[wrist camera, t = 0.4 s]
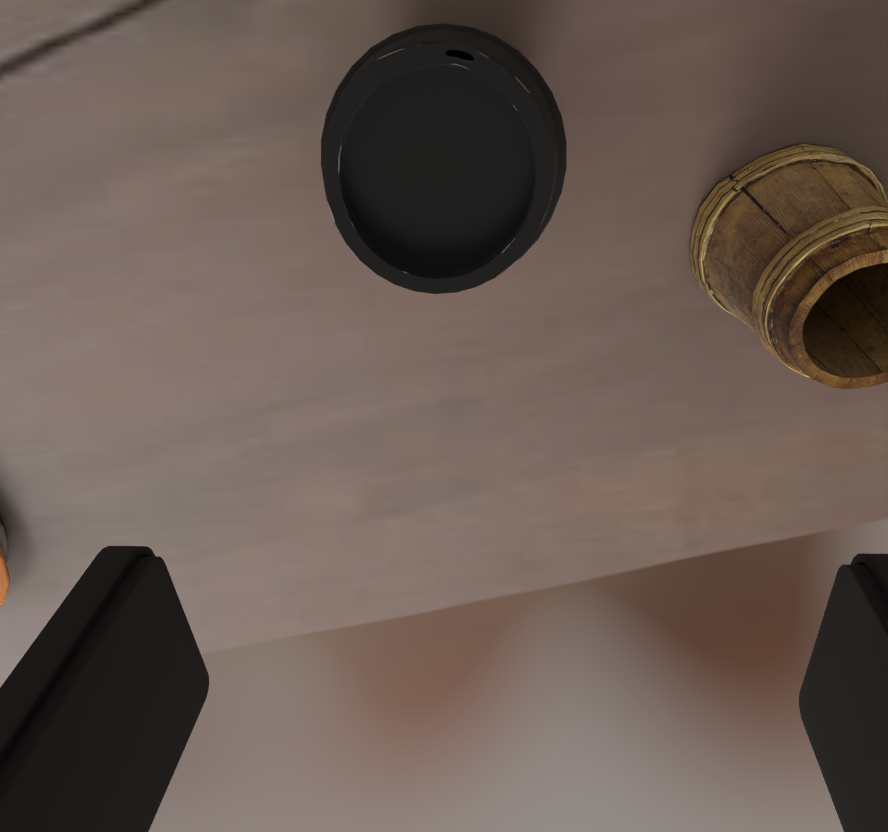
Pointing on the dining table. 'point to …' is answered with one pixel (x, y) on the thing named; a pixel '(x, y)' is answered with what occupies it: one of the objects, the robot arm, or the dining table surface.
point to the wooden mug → (802, 261)
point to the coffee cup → (442, 157)
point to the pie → (3, 565)
